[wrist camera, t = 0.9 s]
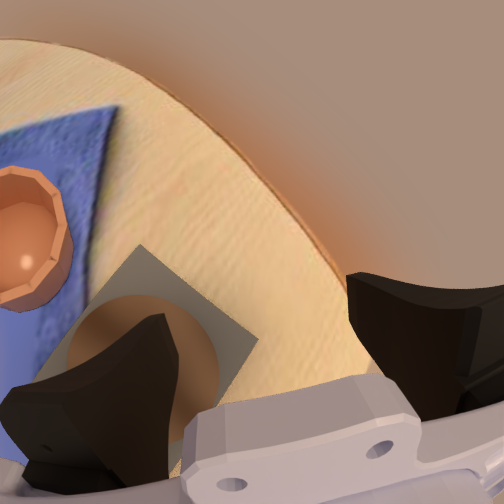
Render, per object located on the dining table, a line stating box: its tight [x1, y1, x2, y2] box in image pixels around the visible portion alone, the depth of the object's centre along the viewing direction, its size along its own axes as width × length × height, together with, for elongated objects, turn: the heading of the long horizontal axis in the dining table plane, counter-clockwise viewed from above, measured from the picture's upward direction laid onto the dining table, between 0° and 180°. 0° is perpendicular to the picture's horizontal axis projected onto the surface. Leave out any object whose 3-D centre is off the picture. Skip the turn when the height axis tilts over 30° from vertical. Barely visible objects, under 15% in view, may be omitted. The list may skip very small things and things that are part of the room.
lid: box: [67, 295, 219, 444], centre depth 18 cm, size 11×11×5 cm
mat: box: [32, 244, 259, 474], centre depth 20 cm, size 15×12×1 cm
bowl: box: [0, 166, 74, 313], centre depth 17 cm, size 9×9×5 cm
